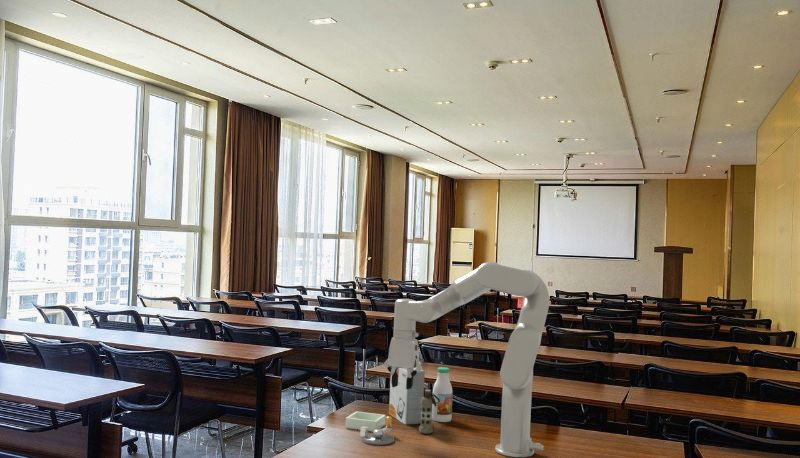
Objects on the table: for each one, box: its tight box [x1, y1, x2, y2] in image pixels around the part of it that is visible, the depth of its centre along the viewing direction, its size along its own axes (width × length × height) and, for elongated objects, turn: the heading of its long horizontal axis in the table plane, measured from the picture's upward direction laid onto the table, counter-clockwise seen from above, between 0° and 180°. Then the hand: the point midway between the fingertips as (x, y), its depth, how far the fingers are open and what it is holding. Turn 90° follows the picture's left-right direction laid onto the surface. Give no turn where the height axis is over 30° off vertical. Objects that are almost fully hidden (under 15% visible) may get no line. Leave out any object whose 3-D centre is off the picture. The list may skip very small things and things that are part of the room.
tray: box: [344, 411, 387, 433], centre depth 243 cm, size 12×11×4 cm
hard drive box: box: [388, 367, 426, 426], centre depth 256 cm, size 16×8×20 cm, turn 25°
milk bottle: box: [432, 366, 453, 423], centre depth 257 cm, size 8×8×20 cm
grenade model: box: [418, 389, 440, 435], centre depth 239 cm, size 6×7×15 cm
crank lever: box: [372, 415, 393, 438], centre depth 228 cm, size 10×3×5 cm, turn 152°
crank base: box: [359, 426, 395, 446], centre depth 225 cm, size 12×11×4 cm
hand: (401, 387), depth 230 cm, fingers open, 4 cm apart
